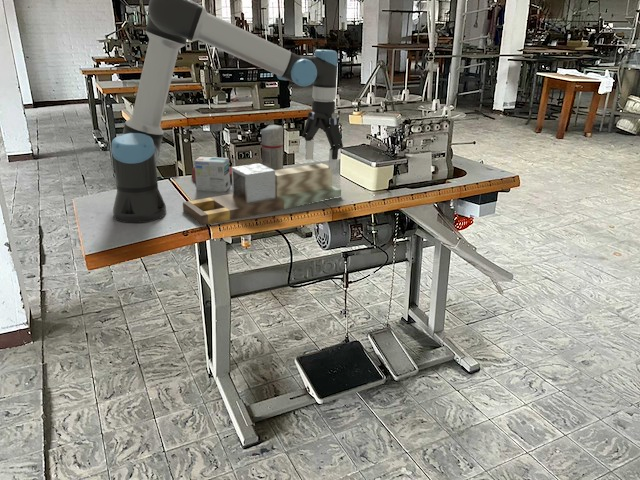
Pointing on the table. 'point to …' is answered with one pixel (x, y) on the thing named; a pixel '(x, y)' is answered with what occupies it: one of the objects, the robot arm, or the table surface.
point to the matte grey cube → (253, 183)
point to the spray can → (272, 147)
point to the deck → (250, 205)
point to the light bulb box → (212, 174)
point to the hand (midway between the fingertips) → (320, 163)
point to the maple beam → (302, 179)
